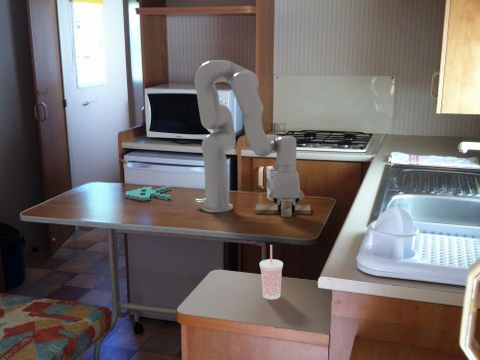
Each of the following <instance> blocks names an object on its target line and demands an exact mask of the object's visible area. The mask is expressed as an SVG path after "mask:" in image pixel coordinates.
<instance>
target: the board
mask: <svg viewBox="0 0 480 360" xmlns="http://www.w3.org/2000/svg"><path fill="white" fill-rule="evenodd" d="M254 214H255V215H256V214H257V215H261V214H262V215H263V214H264V215H267V214H268V215H271V214H272V215H279V212H278V205H277V204H261V203H259V204H258V203H257V204H255V208H254ZM293 215H311V204H296V205H295V212H293Z"/></svg>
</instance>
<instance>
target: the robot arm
mask: <svg viewBox="0 0 480 360" xmlns="http://www.w3.org/2000/svg"><path fill="white" fill-rule="evenodd" d="M221 82H224V83H227V84H229V85H230V88H231V91H232V93H233V94H234V95H233V96H234V97H235V99H236V102H237V104H238V106H239V109H240V111H241V114H242V116H243V121H242V122H243V126H244V134H245V137H246V140H247V142H248V144H249V146H250V148H251V150H252V151H253V153H254V154H255V155H256V156H257V157H261V158H265V157H268V156H270V155H273V154H276V164H274V165H272V166H273V169H276V170H277V171H275V174H274V182H273V190H272V191H271V193H270V194H269V198H271V199H272V200H274V201H273V202H274V203H275V204H276V205H278V212H279V214H278V215H279V216H281V198H283V199H291V200H292V210H291V215H292V216H294V214H293V212H295V205H297V204H298V203H299V201H301V200H303V199H305V194H304V192H303V191H302V189H300V187H301V186H300V176H299V172H298V170H297V139H296V137H294V136H292V135H277V134H273V133H272V134H269V133H268V134H266V133H265V130H264V127H263V121H262V118H263V117H262V116H263V113H264V105H263V102H262V100H261V98H260V96H259V93H258V90H257V89H258V87H259V84H260V82H259V78H258V76H257V74H256V73H255V72H253V71H251V70H250V69H247V68H245V67H243V66H241V65H238V64H237V63H235V62H234V61H233V62H232V61H230V60H226V59H214V60H207V61H206V62H203V63H202V64H201V65H200V66H199V67H198V68H197V70H196V72H195V75H194V87H195V93H196V98H197V104H198V111H199V117H200V122H201V125H202V126H203V128H204V129H207V130H208V131H209V130H212V132H211V133H209V134H207V135H206V136H205V137H204V138H203V139H202V142H201V152H202V157H203V165H204V166H203V167H204V187H205V188H204V189H205V190H204V191H205V193H204V194H205V197H204V198H195V202H194V203H195V204H197V205H202V207H201V208H202V210H203V211H204V212H207V213H215V214H216V213H225V212H229V211H231V210H233V206H234V205H233V204H232V203H230V202H229V201H230V199H229V197H230V196H229V195H230V194H229V193H230V192H229V166H228V159H227V155H226V153H229V152H232V150H233V149H234V148H235V145H236V133H235V127H234V120H233V119H234V118H233V115H232V112H231V109H230V108H229V107H228V106H227V105H225V104H222V103H221V102H220V96H219V93H218V89H217V87H216V83H221ZM273 195H274V196H273ZM277 198H278V199H277Z"/></svg>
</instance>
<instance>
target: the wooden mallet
mask: <svg viewBox="0 0 480 360" xmlns="http://www.w3.org/2000/svg"><path fill="white" fill-rule="evenodd" d="M280 202H281V215H280V216H281V217H282V218H283V217H286V218H287V217H289V218H290V217H292V216H293V215H291V210H292V199H283V200H281V201H280Z"/></svg>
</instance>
